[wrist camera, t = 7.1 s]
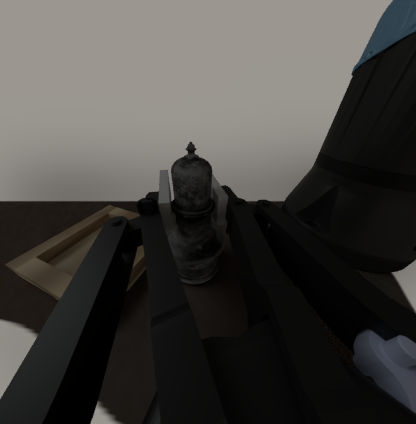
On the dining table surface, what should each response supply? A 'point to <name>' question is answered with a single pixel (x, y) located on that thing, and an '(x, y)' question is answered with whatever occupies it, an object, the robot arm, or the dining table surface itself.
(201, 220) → the dark grey tall figure
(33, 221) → the dining table surface
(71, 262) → the square wooden tray
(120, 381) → the dining table surface
